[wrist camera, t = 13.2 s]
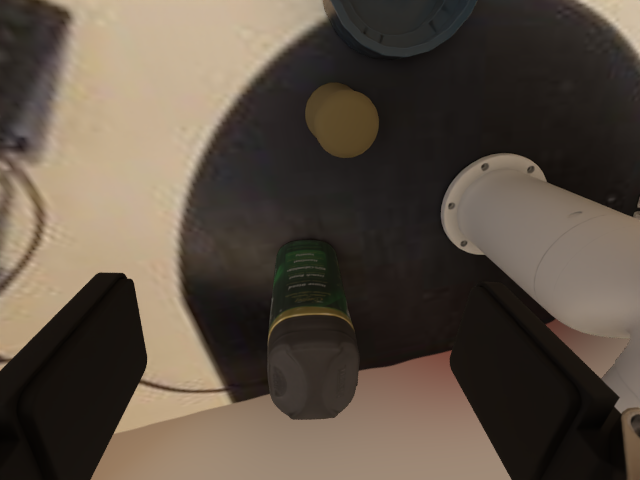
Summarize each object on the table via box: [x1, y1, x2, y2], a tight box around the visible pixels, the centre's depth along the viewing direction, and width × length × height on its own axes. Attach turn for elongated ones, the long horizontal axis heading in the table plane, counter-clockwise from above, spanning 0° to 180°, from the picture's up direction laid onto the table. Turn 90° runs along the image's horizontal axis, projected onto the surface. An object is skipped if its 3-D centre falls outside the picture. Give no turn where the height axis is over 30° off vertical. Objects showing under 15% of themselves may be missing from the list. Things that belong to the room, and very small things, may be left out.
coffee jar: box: [267, 240, 360, 420], centre depth 36 cm, size 10×8×19 cm
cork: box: [305, 83, 379, 158], centre depth 31 cm, size 6×6×11 cm
